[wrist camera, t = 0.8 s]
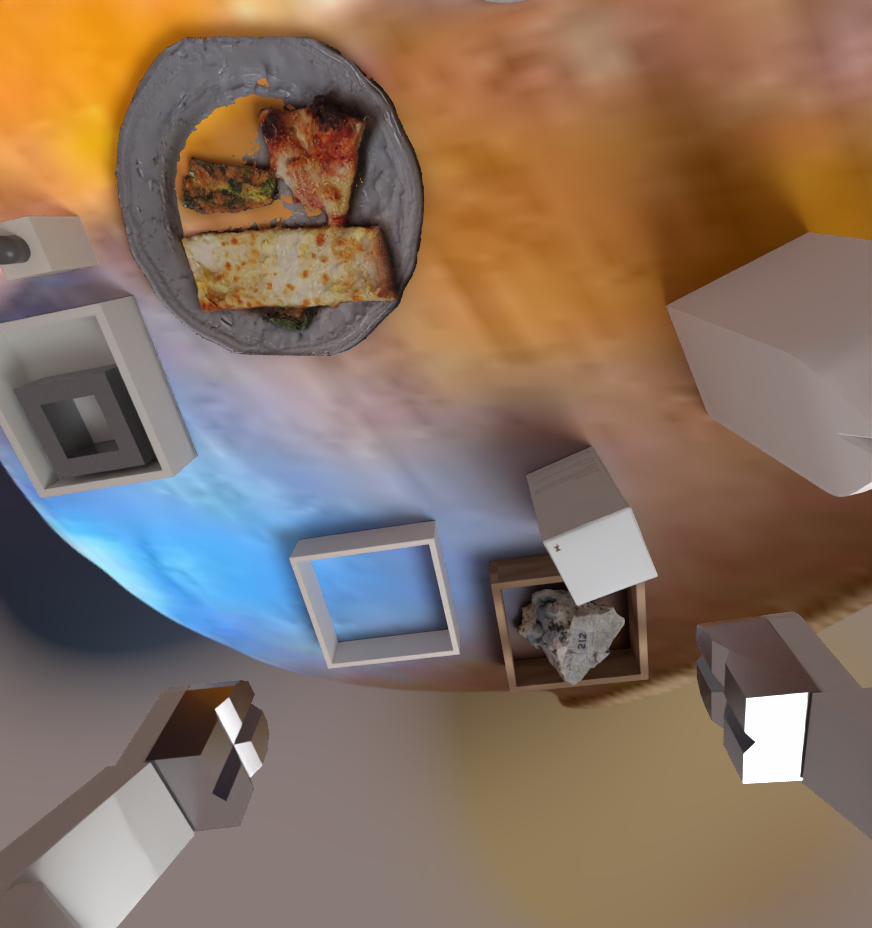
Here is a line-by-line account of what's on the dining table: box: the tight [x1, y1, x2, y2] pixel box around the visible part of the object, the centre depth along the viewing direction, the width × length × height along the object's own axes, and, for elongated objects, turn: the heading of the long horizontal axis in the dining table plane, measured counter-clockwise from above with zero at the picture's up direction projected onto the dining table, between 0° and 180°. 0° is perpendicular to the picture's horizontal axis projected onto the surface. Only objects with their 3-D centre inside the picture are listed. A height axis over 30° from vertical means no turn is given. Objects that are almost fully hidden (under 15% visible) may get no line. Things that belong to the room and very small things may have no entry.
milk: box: [666, 232, 872, 497], centre depth 36 cm, size 12×12×26 cm
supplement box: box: [526, 447, 658, 606], centre depth 49 cm, size 7×7×13 cm
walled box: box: [0, 296, 198, 498], centre depth 51 cm, size 16×14×5 cm
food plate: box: [115, 36, 424, 356], centre depth 44 cm, size 25×23×4 cm
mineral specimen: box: [517, 589, 625, 685], centre depth 59 cm, size 10×8×10 cm
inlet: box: [13, 364, 156, 479], centre depth 51 cm, size 9×9×4 cm
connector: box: [0, 216, 99, 281], centre depth 44 cm, size 4×4×8 cm
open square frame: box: [289, 521, 460, 669], centre depth 59 cm, size 15×15×4 cm
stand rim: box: [489, 554, 648, 693], centre depth 59 cm, size 15×15×4 cm
